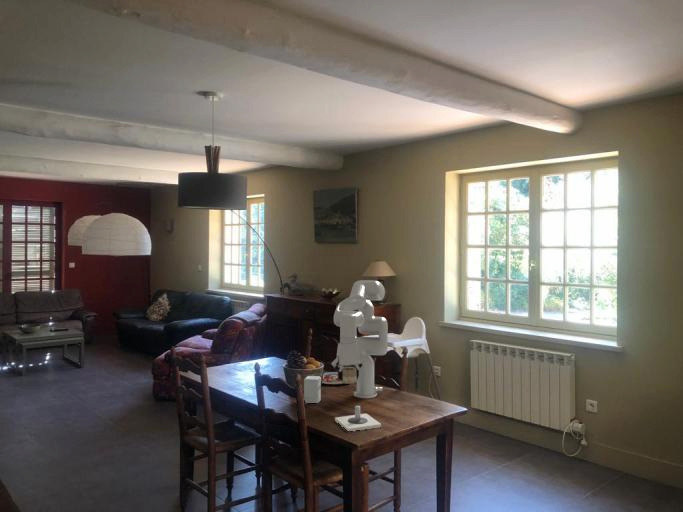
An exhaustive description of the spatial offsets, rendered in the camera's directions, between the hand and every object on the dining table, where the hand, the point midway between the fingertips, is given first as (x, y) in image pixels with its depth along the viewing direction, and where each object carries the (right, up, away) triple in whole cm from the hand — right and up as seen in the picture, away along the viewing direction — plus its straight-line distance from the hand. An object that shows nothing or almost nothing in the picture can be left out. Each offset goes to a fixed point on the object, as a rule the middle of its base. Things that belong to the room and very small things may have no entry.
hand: (348, 378), depth 251 cm
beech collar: (0, -1, 0) cm, 1 cm away
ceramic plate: (-8, -18, +73) cm, 76 cm away
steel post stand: (+4, -20, -2) cm, 21 cm away
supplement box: (-18, -19, +32) cm, 41 cm away
